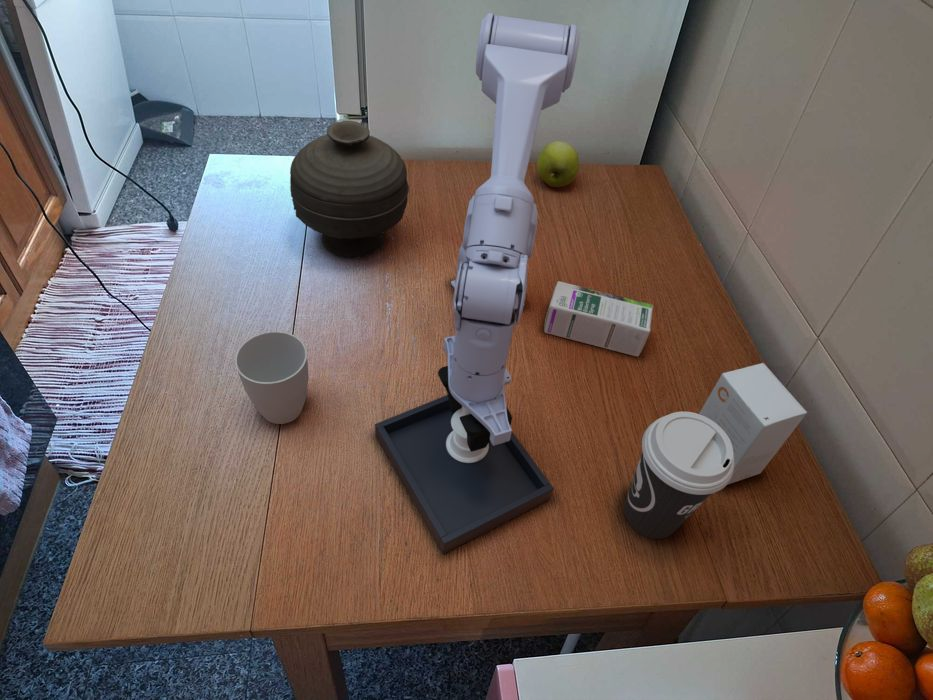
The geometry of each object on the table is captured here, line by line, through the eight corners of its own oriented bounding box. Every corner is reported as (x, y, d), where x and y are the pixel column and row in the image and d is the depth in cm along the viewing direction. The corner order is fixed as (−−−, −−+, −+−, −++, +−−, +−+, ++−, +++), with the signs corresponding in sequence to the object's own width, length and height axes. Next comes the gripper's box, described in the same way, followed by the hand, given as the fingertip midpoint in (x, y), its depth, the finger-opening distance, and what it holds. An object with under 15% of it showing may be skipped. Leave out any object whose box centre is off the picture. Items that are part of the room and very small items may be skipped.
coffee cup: (644, 565, 72) (689, 498, 61) (595, 496, 78) (629, 422, 67) (707, 531, 76) (761, 462, 65) (656, 467, 81) (698, 393, 70)
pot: (433, 227, 109) (429, 121, 93) (367, 291, 99) (350, 184, 84) (350, 190, 115) (333, 84, 99) (280, 248, 105) (250, 140, 90)
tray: (375, 435, 81) (374, 423, 79) (474, 395, 87) (476, 382, 85) (442, 554, 71) (444, 543, 69) (550, 499, 77) (554, 488, 75)
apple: (531, 192, 120) (538, 154, 114) (535, 166, 126) (542, 129, 120) (573, 199, 119) (582, 161, 113) (575, 173, 125) (584, 135, 120)
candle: (437, 441, 80) (442, 380, 72) (470, 420, 83) (479, 359, 74) (464, 471, 78) (473, 411, 69) (497, 449, 80) (510, 389, 71)
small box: (760, 474, 82) (809, 413, 72) (720, 488, 80) (764, 427, 70) (722, 424, 87) (763, 360, 77) (683, 436, 85) (720, 372, 75)
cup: (325, 394, 84) (319, 343, 77) (294, 442, 79) (284, 392, 72) (270, 376, 86) (258, 323, 78) (236, 422, 80) (220, 370, 73)
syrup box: (651, 331, 89) (549, 303, 91) (638, 359, 94) (541, 332, 95) (654, 304, 93) (556, 278, 95) (642, 332, 98) (548, 307, 99)
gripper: (545, 397, 65) (524, 469, 75) (487, 301, 73) (475, 377, 83) (481, 415, 62) (468, 487, 73) (429, 314, 71) (424, 391, 81)
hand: (469, 429), depth 78 cm, fingers closed on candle, 5 cm apart
